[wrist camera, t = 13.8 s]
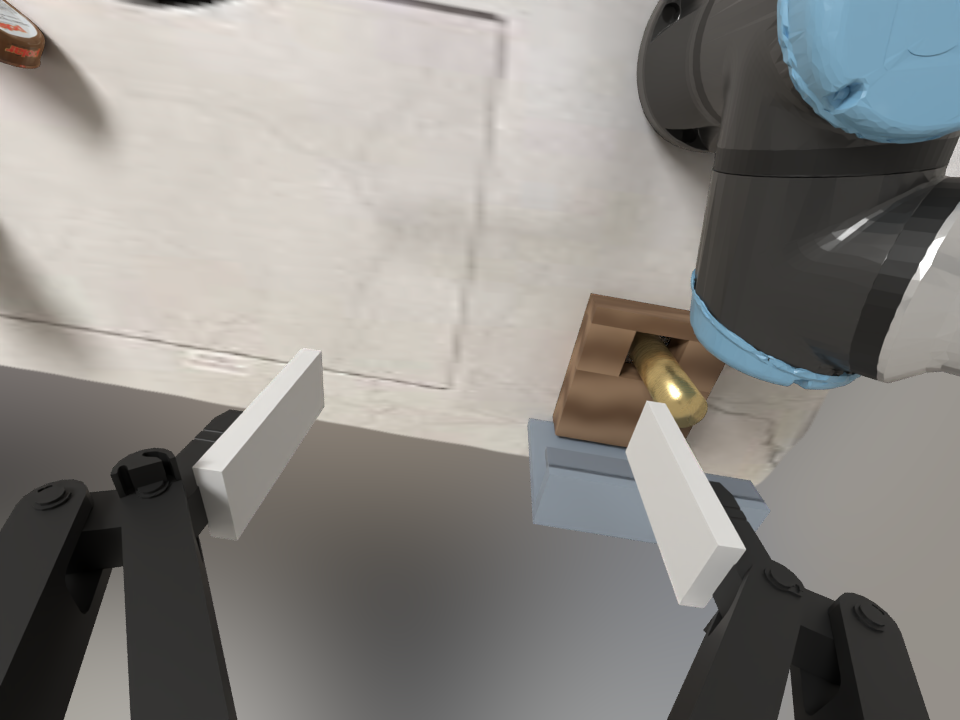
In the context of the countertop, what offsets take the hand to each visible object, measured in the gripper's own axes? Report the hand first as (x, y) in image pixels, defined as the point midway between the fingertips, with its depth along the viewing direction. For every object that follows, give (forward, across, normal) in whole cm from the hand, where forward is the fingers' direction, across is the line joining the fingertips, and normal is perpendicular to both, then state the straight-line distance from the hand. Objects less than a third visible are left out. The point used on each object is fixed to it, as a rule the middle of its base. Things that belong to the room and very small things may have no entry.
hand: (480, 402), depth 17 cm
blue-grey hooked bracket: (+33, +19, -22) cm, 44 cm away
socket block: (+33, +20, -15) cm, 41 cm away
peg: (+33, +20, -11) cm, 39 cm away
